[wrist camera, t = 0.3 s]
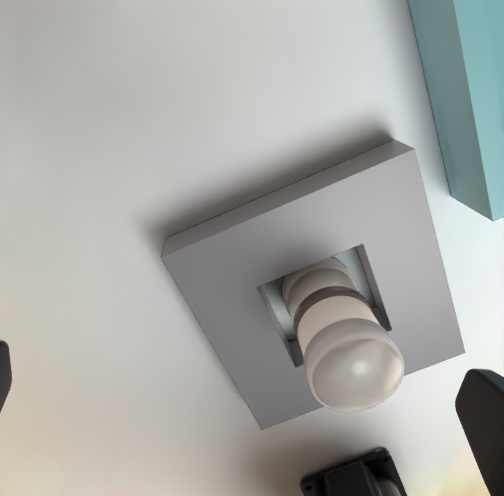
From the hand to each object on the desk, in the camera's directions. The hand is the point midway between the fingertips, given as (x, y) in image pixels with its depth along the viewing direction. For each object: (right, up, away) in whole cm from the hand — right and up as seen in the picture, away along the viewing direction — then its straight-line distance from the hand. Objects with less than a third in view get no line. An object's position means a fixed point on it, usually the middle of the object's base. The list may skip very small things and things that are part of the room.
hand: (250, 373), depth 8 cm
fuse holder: (+4, 0, +15) cm, 15 cm away
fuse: (+4, 0, +15) cm, 15 cm away
